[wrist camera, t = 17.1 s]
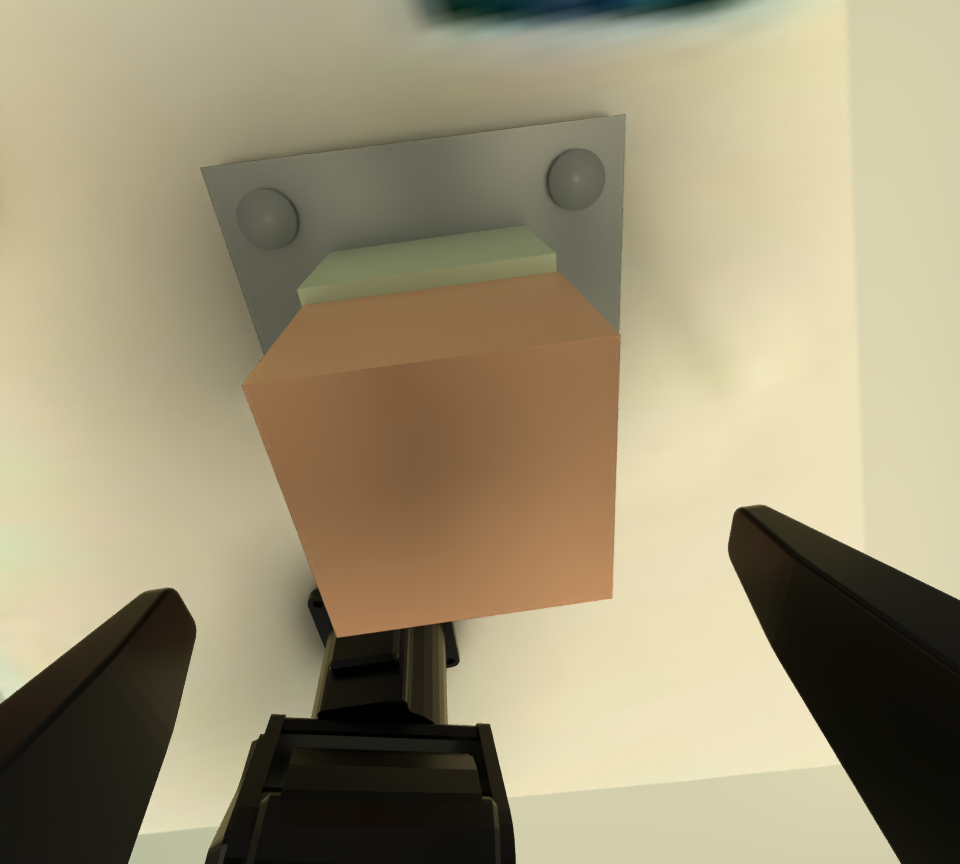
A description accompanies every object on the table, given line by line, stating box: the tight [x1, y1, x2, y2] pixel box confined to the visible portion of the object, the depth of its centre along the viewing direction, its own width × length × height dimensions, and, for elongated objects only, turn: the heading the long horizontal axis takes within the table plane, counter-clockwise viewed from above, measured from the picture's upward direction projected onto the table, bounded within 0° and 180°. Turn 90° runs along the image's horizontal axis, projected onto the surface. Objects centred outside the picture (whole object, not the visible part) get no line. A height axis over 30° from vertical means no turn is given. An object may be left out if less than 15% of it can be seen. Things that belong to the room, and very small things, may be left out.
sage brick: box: [297, 225, 557, 307], centre depth 15 cm, size 6×6×4 cm
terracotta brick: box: [242, 271, 620, 638], centre depth 11 cm, size 6×6×4 cm
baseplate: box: [200, 114, 625, 356], centre depth 18 cm, size 12×12×2 cm
